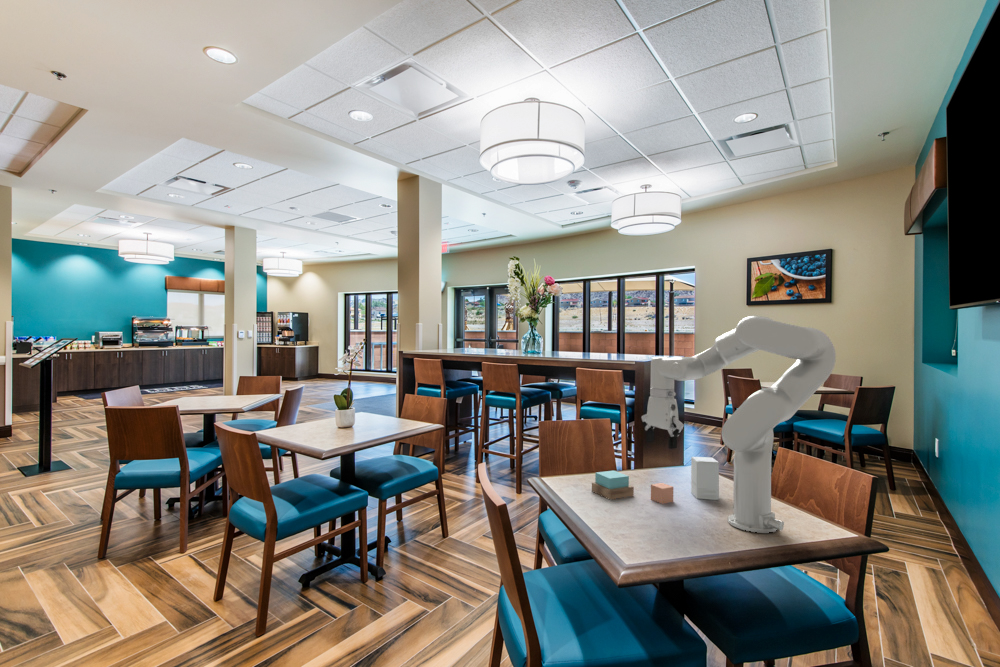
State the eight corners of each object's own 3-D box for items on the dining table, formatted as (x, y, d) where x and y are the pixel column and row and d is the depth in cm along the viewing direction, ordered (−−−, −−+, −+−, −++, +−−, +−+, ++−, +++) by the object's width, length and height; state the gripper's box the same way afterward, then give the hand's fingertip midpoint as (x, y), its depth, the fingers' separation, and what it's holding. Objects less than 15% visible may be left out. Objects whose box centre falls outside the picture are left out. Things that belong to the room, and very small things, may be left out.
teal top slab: (628, 486, 160) (628, 476, 160) (609, 489, 157) (609, 478, 157) (613, 480, 167) (613, 470, 168) (595, 482, 164) (595, 472, 164)
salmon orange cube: (673, 502, 154) (673, 486, 154) (662, 504, 152) (662, 488, 152) (661, 497, 158) (661, 482, 159) (650, 499, 156) (650, 484, 156)
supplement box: (719, 500, 156) (719, 462, 156) (696, 499, 157) (696, 461, 157) (713, 493, 163) (713, 457, 164) (690, 492, 164) (690, 456, 165)
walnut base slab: (633, 497, 160) (633, 486, 160) (610, 501, 155) (610, 490, 155) (613, 489, 169) (613, 479, 169) (591, 492, 164) (591, 482, 164)
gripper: (691, 396, 150) (690, 449, 150) (650, 390, 165) (650, 439, 165) (674, 397, 147) (673, 452, 146) (635, 391, 162) (634, 440, 162)
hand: (661, 445), depth 156 cm, fingers open, 9 cm apart
